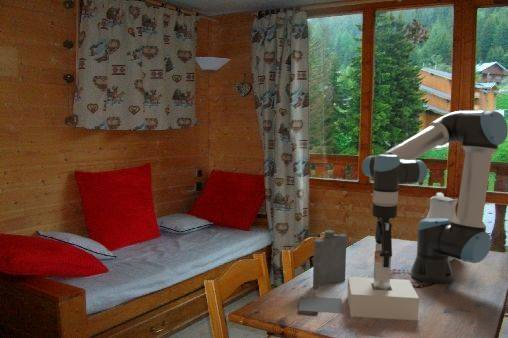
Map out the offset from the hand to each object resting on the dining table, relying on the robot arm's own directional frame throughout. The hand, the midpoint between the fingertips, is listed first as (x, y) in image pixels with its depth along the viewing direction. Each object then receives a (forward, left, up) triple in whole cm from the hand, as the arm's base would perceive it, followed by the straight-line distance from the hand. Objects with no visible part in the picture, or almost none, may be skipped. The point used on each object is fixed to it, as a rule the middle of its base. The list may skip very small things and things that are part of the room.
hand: (381, 269), depth 153 cm
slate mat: (+19, 0, -14) cm, 23 cm away
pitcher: (-34, -66, -14) cm, 76 cm away
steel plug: (0, 0, -13) cm, 13 cm away
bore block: (0, 0, -14) cm, 14 cm away
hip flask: (+16, -23, -14) cm, 31 cm away
